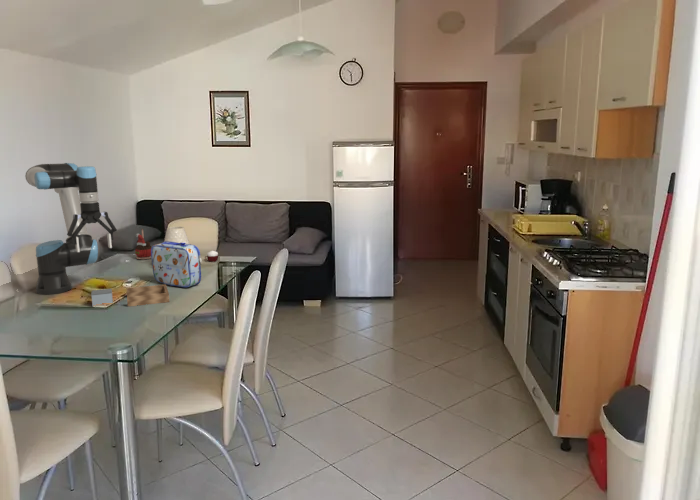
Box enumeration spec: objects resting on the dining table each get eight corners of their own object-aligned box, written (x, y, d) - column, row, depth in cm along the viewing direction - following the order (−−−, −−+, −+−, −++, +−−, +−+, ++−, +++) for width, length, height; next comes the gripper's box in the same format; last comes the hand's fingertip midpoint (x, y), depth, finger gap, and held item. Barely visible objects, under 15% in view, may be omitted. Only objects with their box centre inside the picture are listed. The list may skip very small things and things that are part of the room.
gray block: (92, 307, 242) (91, 294, 240) (93, 303, 247) (91, 290, 246) (112, 305, 245) (111, 292, 243) (112, 301, 250) (111, 288, 249)
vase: (189, 273, 301) (186, 230, 296) (157, 273, 301) (153, 230, 296) (198, 265, 318) (196, 225, 313) (168, 265, 318) (165, 225, 313)
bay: (127, 306, 242) (126, 297, 241) (127, 296, 257) (126, 288, 256) (169, 302, 248) (168, 293, 247) (166, 292, 263) (165, 284, 262)
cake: (156, 258, 338) (154, 228, 334) (143, 260, 330) (141, 230, 327) (145, 256, 344) (142, 227, 340) (132, 259, 336) (129, 229, 332)
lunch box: (207, 285, 275) (204, 241, 271) (192, 290, 266) (189, 245, 262) (166, 279, 288) (163, 236, 284) (150, 283, 279) (147, 240, 275)
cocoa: (204, 263, 325) (202, 243, 322) (206, 260, 331) (204, 240, 328) (221, 262, 326) (219, 242, 323) (223, 259, 332) (220, 239, 329)
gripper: (60, 205, 236) (66, 254, 240) (121, 200, 251) (125, 247, 255) (56, 203, 241) (61, 252, 245) (115, 199, 257) (120, 244, 261)
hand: (94, 249), depth 250 cm, fingers open, 13 cm apart
